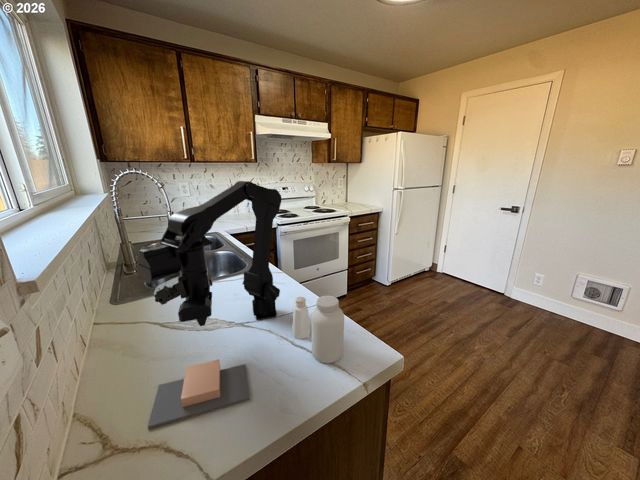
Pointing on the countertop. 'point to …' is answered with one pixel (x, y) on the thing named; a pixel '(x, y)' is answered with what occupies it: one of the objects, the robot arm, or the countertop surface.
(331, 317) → the pill bottle
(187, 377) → the tile
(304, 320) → the pepper shaker
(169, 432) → the countertop surface
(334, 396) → the countertop surface
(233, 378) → the mat
